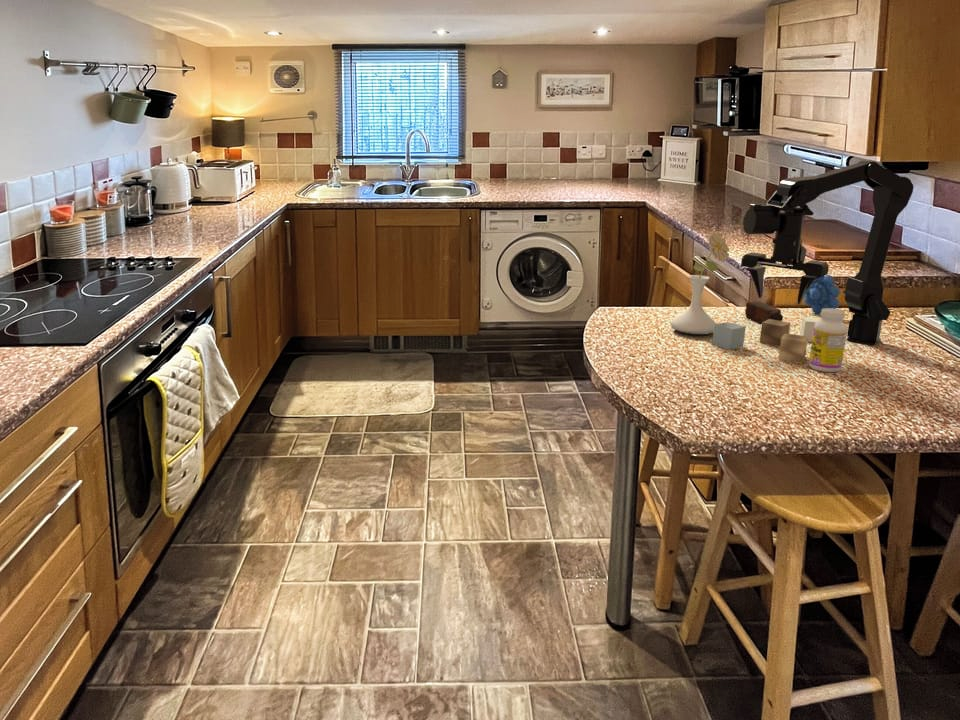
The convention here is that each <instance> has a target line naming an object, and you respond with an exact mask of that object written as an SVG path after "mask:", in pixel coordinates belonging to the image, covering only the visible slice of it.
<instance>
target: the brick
mask: <svg viewBox="0 0 960 720" xmlns="http://www.w3.org/2000/svg"><path fill="white" fill-rule="evenodd" d="M745 305H746V306H745V307H746V308H745V311H744V314H745V318H746V319H747V318H748V319H747V320H749V319H751V320H750V321H751V322H754V321H755V322H754V323H756V322H757V323H756V324H759V325H761V324H762V322H764V321H766V320H769V319H772V320H778V321H783V318H784V315H783V314H782V310H781V309H779V308H777V307H775V306H772V305H769V304H766V303H765V302H761V301H757V300H756V301H747V302H746V304H745Z"/></svg>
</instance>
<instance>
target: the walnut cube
mask: <svg viewBox="0 0 960 720" xmlns="http://www.w3.org/2000/svg"><path fill="white" fill-rule="evenodd" d="M790 328H791V322H789V321H784V320H782V321H778V320H772V319H769V320H766V321H764V322H762V325H761V329H760V336H759V343H760V344H765V345H768V346H775V347H780V344H781V338H782V337H783V335H784V334H785V333H786V334H790Z"/></svg>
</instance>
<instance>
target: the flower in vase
mask: <svg viewBox="0 0 960 720" xmlns="http://www.w3.org/2000/svg"><path fill="white" fill-rule="evenodd" d="M707 240H708V246H709V248H708V249H709V251H710V252H709V254H708V256H707V259H706V261H705V264H704V266H701V265H700V264H698V263H696V262H695V263H694V266H693V270H696V271H697V272H698V271H699V272H700V274H691V275H688V279H689V281H690V283H691V287H692V289H691V290H692V295H691V296H692V297H691V303H690V305H689V306H688V308H686V309H685V310H684V311H682V312H680V313H679V314H678V315H676V316H675V317H673V318H672V319H671V321H670V323H669V324H670V326H671V328H672V329H674V330H676V331H678V332H680V333H685V334H689V335H708V334H712V333H714V325H715V324H717V323H716V322H715V320H714V319H713V318H712V317H711V316H710V315H709V314H708V313H707V312H706V311H705V310H704V308H703V307H702V299H703V298H702V297H703V292H704V287H705V285H706V284H707V282H708V281H709V280H710V277H709V276H707V275H703V272H704V271H705V269H706V267H707V269H708V270H709V271H710V272H715V271H716V270H718V269H719V267H718V265H717V263H716V262H714V261H712V260H709V259H710V258H711V256H712V255H713V257H714V259H717V260H718V261H719V262H723V263H724V262H725V261H726V259H729V256H730V254H729V253H728V252H730V248H729V245H728V243H727V240H726V238H725V237H723V236H722V233H720V232H719V231H718V230H717V231H715V230H714V229H713V230H712V231H711V232H710V234H709V235H708V238H707Z"/></svg>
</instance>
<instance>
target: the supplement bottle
mask: <svg viewBox="0 0 960 720" xmlns="http://www.w3.org/2000/svg"><path fill="white" fill-rule="evenodd" d="M845 314H846V311H844V310H842V309H839V308H836V309H833V308H825V309H822V310H821V313H820V315H821V316H820V318H821V320H819V321H817V322H816V323H815V325H814V331H813V338H812V342H811V345H810V346H811V347H810V352H809V356H808V357H809V360H808V366H809V367H810V368H811V369H812V370H815V371H819V372H825V373H836V372H839V371H840V370H841V369H842V366H843V365H842V364H843V360H844V359H843V358H844V352H845V346H846V341H847V333H848V326H847V324H846V323H844V319H845Z"/></svg>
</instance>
